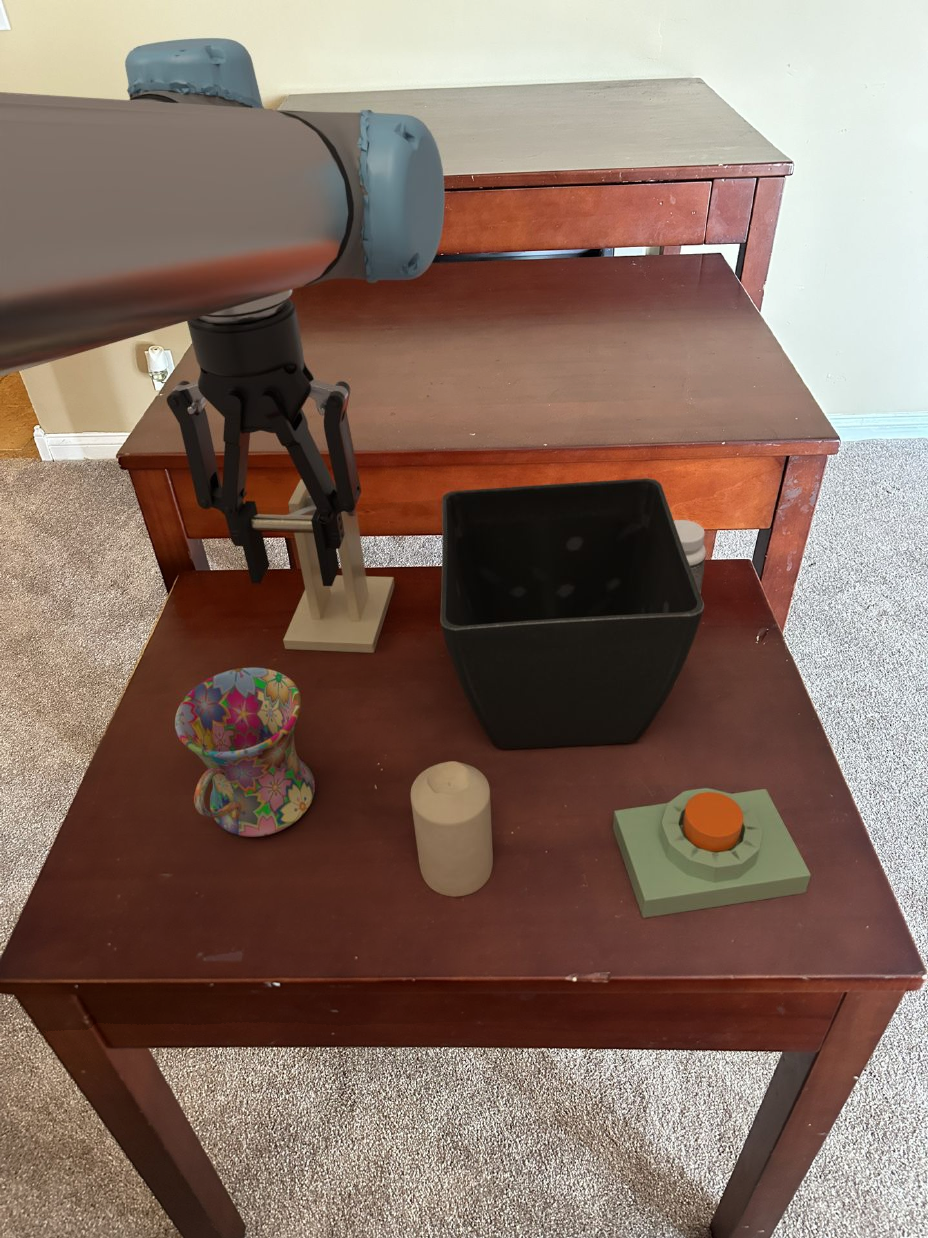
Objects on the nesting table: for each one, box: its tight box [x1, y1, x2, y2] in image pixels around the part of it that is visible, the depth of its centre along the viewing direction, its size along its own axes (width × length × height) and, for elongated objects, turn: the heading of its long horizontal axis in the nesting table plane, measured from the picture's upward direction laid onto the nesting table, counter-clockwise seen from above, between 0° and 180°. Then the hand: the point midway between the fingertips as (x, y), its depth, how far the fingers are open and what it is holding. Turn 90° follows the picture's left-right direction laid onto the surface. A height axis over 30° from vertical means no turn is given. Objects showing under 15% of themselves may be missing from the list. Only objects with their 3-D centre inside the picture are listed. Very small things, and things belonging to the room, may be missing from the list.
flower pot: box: [439, 478, 705, 751], centre depth 76 cm, size 19×19×17 cm
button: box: [683, 792, 743, 852], centre depth 64 cm, size 4×4×2 cm
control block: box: [612, 787, 812, 919], centre depth 66 cm, size 12×8×4 cm, turn 98°
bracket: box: [282, 478, 395, 654], centre depth 87 cm, size 11×9×15 cm
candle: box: [410, 760, 494, 898], centre depth 64 cm, size 6×6×10 cm
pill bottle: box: [673, 519, 707, 595], centre depth 89 cm, size 5×5×8 cm
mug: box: [174, 667, 316, 838], centre depth 69 cm, size 12×9×11 cm
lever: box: [250, 496, 317, 534], centre depth 79 cm, size 13×6×2 cm, turn 173°
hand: (295, 575), depth 77 cm, fingers closed on lever, 5 cm apart
